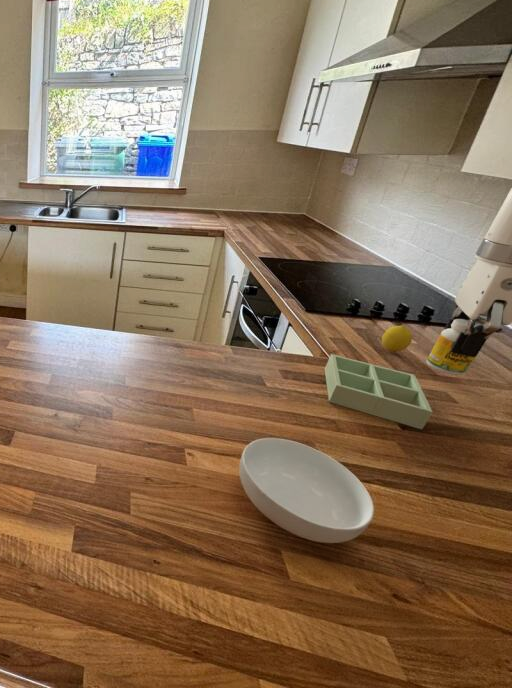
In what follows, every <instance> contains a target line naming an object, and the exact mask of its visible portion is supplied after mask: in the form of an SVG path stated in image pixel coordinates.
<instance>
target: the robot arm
mask: <svg viewBox="0 0 512 688" xmlns="http://www.w3.org/2000/svg"><path fill="white" fill-rule="evenodd" d="M473 258H475V259H476V262H475V263H474V265H473V266H472V268H471V269H470V271H469V272H468V274H467V276H466V277H465V278H464V280H463V282H462V284H461V286H460V287H459V289H458V291H457V292H456V296H455V298H454V302H455V304H456V305H455V309H454V311H453V312H451V315H450V318H449V320H448V321H447V323H446V324H445V327H444V328H443V330H445V329H449V328H451V324H452V323H453V321H454V320H455V319H464V320H469V321H468V324H467V326H466V329H465V331H464V333H463V332H460V334H459V336H458V338H457V339H456V341H455V343H454V345H453V346H452V348H451V352H452V353H456V354H460V355H465V356H469V357H475V358H476V357H477V356H478V355H479V353H480V351H481V350H482V348H483V347H484V345H485V343H486V342H487V340H489V339H490V337H491V335H493V333H495V332H497V331H500V329H501V326H509V325H512V187H511V188H510V190H509V192H508V193H507V195H506V197H505V199H504V201H503V203H502V205H501V206H500V208H499V210H498V212H497V214H496V215H495V218H494V219H493V221H492V223H491V224H490V227H489V228H488V230H487V233H486V234H485V236H484V238H483V239H482V241H481V243H480V245H479V246H478V248H477V250H476V252H475V254H474V255H473ZM479 316H480V317H485V318H486V319H483V318H480V317H479ZM476 322H477V323H479V324H482V325H478V326H476V327H474V326H475V323H476Z"/></svg>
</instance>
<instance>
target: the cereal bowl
mask: <svg viewBox="0 0 512 688" xmlns="http://www.w3.org/2000/svg"><path fill="white" fill-rule="evenodd" d="M238 468H239V470H238V473H239V480H240V481H241V482H240V484H241V485H242V488H243V490H244V492H245V494H246V495H247V498H248V499H249V500H250V502H251V503H252V504H253V505H254V506H255V507H256V508H257V509H258V511H260V513H261V514H263V516H264V517H266V518H267V519H268V520H269V521H271V522H272V523H274V524H275V525H277V526H278V527H280V528H281V529H283V530H284V531H286V532H288V533H291V534H293V535H295V536H297V537H300V538H302V539H306V540H308V541H312V542H317V543H323V544H324V543H325V544H339V543H345V542H348V541H351V540H353V539H355V538H357V537H359V536H360V535H361V534H363V533H364V532H365V531H366V530H367V528H368V527H369V526H370V524H371V523H372V521H373V519H374V515H375V506H374V502H373V499H372V496H371V495H370V493H369V491H368V490H367V488H366V487H365V485H364V484H363V483H362V482H361V481H360V479H359V478H358V477H357V476H356V475H355V474H354V473H353V472H352V471H351V470H349V469H348V468H347V467H346V466H345V465H344V464H342V463H341V462H339V461H338V460H336V459H334V458H333V457H331V456H329V455H328V454H326V453H324V452H322V451H321V450H318V449H316V448H314V447H311V446H309V445H307V444H304V443H301V442H297V441H294V440H290V439H285V438H277V437H264V438H259V439H258V438H257V439H255V440H253V441H251V442H249V444H247V445H246V446H245V447H244V449H243V451H242V453H241V457H240V461H239V466H238Z"/></svg>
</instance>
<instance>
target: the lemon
mask: <svg viewBox="0 0 512 688" xmlns="http://www.w3.org/2000/svg"><path fill="white" fill-rule="evenodd" d="M412 333H413V332H411V330H410V329H409V328H407V327H406V326H405V325H394V326H390V327H389V328H387V330H386V331H385V332H383V334H382V337H381V343H382V345H383V347H384V348H385V349H387V350H388V352H389V353H393V352H402V351H404V350H406V349H407V348H408V347H410V345H411V343H412V340H413V334H412Z"/></svg>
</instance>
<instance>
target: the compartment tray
mask: <svg viewBox="0 0 512 688" xmlns="http://www.w3.org/2000/svg"><path fill="white" fill-rule="evenodd" d="M324 375H325V383H326V389H327V390H326V391H327V397H328V402H329V403H332V404H335V405H339V406H341V407H345V408H348V409H351V410H355V411H358V412H362V413H365V414H369V415H372V416H375V417H379V418H382V419H384V420H388V421H392V422H395V423H398V424H401V425H406V426H408V427H412V428H415V429H418V430H423V429H424V427H425V425H426V424H427V422H428V421H429V419H430V418H431V416H432V415H433V413H434V412H433V410H432V408H431V405H430V403H429V402H428V399H427V397H426V395H425V393H424V391H423V389H422V386H421V385H420V383H419V381H418V379H417V377H416V375H415V374H412V373H408V372H405V371H400V370H397V369H393V368H388V367H385V366H381V365H376V364H373V363H369V362H365V361H360V360H356V359H353V358H349V357H346V356H345V357H344V356H341V355H336V354H333V353H330V356H329V358H328V360H327V363H326V365H325V367H324Z"/></svg>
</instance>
